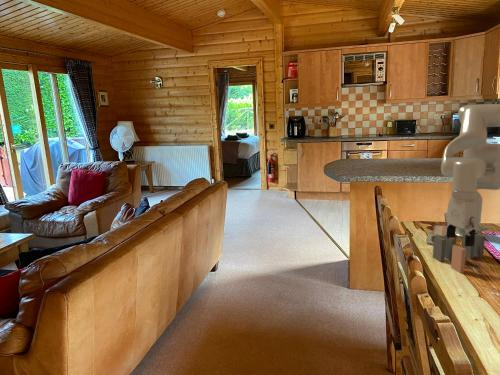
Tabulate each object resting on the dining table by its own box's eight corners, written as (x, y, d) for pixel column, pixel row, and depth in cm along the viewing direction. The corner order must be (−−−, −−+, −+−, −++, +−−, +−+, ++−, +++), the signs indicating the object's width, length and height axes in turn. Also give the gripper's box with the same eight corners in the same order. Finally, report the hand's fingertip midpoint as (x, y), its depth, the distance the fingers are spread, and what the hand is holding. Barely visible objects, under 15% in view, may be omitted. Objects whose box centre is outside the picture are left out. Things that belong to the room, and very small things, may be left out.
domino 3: (454, 267, 144) (456, 244, 142) (464, 272, 139) (466, 249, 137) (451, 267, 143) (452, 244, 142) (460, 273, 139) (462, 249, 137)
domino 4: (464, 254, 156) (466, 233, 154) (473, 258, 151) (475, 237, 149) (461, 254, 155) (462, 233, 153) (469, 259, 150) (471, 237, 149)
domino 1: (436, 257, 154) (437, 235, 152) (444, 261, 149) (445, 239, 147) (432, 257, 153) (434, 236, 152) (440, 262, 149) (442, 240, 147)
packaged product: (429, 223, 182) (453, 225, 177) (429, 233, 183) (452, 235, 178) (426, 234, 167) (452, 237, 162) (426, 245, 168) (451, 248, 163)
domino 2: (445, 256, 154) (447, 234, 152) (454, 260, 149) (455, 238, 148) (442, 256, 154) (443, 235, 152) (450, 261, 149) (452, 239, 147)
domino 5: (473, 253, 156) (475, 232, 154) (483, 257, 151) (485, 236, 150) (470, 253, 156) (472, 232, 154) (479, 258, 151) (481, 236, 149)
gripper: (438, 191, 143) (435, 235, 146) (471, 201, 126) (467, 250, 129) (456, 190, 144) (452, 233, 147) (491, 199, 127) (487, 248, 130)
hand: (459, 241), depth 138 cm, fingers open, 9 cm apart
